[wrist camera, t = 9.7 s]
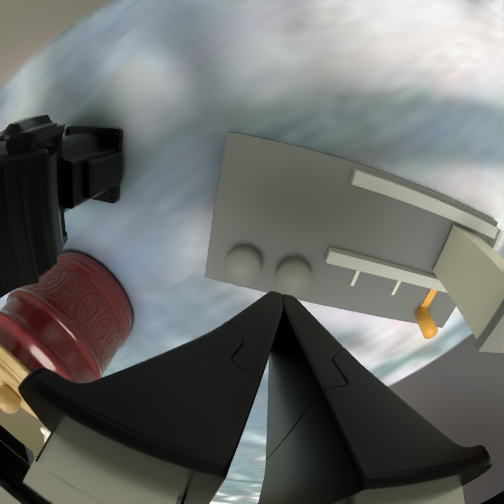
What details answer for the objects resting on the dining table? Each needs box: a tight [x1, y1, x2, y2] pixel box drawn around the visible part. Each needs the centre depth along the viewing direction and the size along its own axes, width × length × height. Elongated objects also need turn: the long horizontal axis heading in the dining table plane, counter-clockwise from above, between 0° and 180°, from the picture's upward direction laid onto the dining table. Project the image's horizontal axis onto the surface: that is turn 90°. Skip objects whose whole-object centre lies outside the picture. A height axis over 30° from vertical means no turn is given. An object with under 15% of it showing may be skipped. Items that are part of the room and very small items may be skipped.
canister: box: [0, 252, 132, 419], centre depth 21 cm, size 13×13×18 cm
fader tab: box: [433, 225, 504, 353], centre depth 15 cm, size 3×5×10 cm
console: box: [205, 132, 503, 339], centre depth 20 cm, size 24×12×4 cm, turn 79°
